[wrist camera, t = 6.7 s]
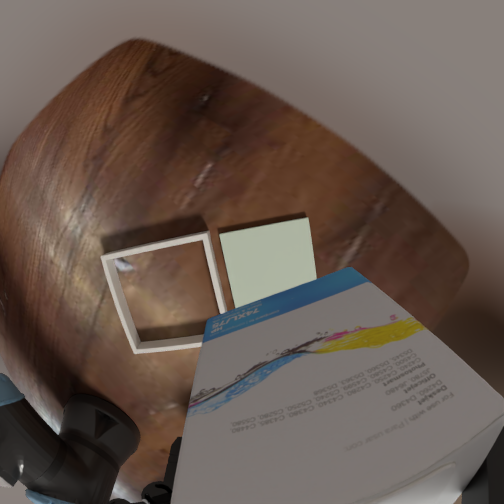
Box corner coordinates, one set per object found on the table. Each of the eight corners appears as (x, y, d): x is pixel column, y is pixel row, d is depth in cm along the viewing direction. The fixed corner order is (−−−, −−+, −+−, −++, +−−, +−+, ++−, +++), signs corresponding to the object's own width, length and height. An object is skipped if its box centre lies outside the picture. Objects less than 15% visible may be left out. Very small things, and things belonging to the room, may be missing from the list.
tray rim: (138, 346, 33) (134, 353, 32) (107, 252, 31) (100, 256, 29) (233, 333, 34) (232, 341, 32) (209, 230, 31) (207, 233, 29)
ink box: (203, 316, 14) (152, 531, 3) (353, 262, 14) (525, 397, 3) (256, 417, 16) (269, 572, 5) (374, 375, 16) (456, 506, 5)
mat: (239, 321, 33) (239, 323, 33) (219, 233, 31) (219, 234, 30) (318, 305, 33) (319, 307, 33) (306, 217, 31) (308, 217, 30)
